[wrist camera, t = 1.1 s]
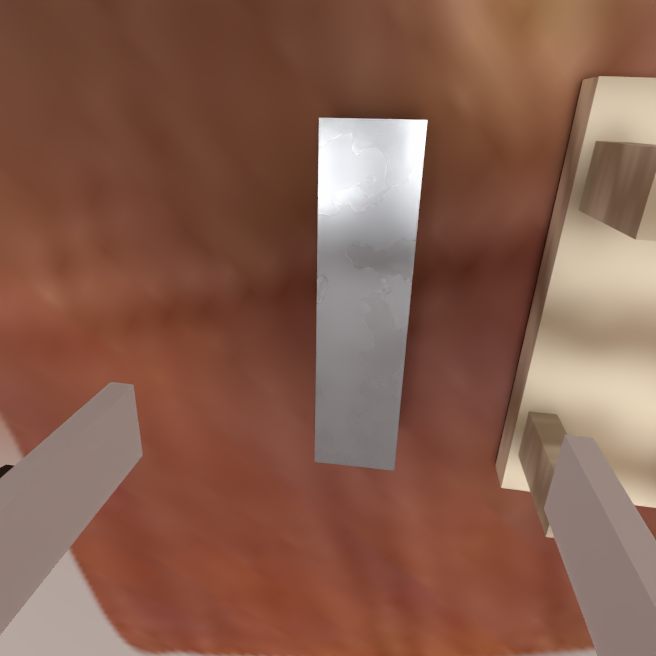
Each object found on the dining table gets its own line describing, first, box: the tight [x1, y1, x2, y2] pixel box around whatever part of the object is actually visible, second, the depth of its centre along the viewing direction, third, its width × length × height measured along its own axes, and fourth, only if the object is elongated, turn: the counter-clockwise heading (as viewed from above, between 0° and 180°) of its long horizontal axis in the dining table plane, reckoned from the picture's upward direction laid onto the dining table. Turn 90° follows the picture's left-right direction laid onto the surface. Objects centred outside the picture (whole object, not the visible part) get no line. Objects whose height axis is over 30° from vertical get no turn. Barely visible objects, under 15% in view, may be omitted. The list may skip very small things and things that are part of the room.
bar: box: [315, 118, 427, 470], centre depth 26 cm, size 18×4×4 cm, turn 179°
